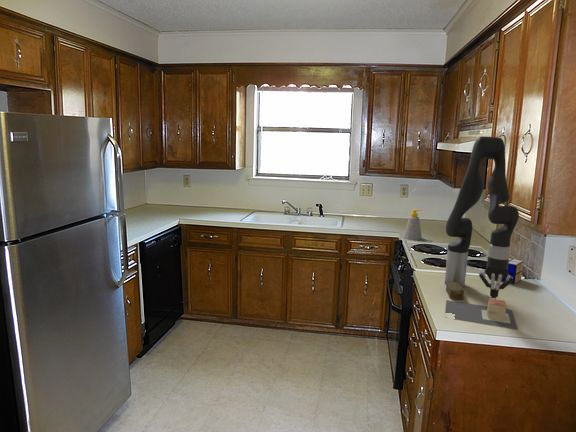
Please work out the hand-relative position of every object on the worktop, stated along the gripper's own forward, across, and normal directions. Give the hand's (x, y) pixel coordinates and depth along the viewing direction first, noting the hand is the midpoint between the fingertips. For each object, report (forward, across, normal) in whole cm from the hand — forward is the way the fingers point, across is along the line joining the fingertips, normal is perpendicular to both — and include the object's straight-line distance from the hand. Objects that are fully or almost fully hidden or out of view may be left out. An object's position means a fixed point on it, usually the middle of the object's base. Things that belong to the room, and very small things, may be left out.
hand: (493, 297), depth 172 cm
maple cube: (+2, -2, 0) cm, 2 cm away
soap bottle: (+8, +44, -125) cm, 132 cm away
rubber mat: (+8, +4, 0) cm, 9 cm away
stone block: (+8, +14, -18) cm, 25 cm away
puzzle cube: (+8, -10, -54) cm, 56 cm away
